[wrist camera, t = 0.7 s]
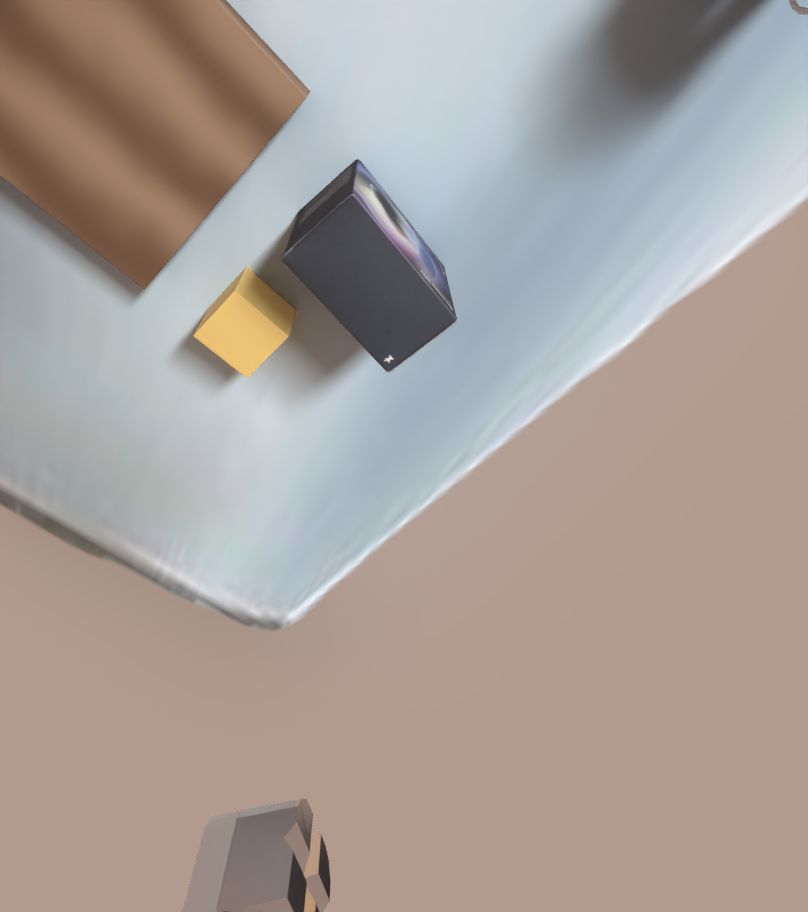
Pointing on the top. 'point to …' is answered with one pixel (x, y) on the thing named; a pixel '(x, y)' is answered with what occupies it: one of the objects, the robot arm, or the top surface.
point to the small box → (370, 268)
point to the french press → (798, 9)
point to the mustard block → (246, 323)
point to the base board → (134, 116)
